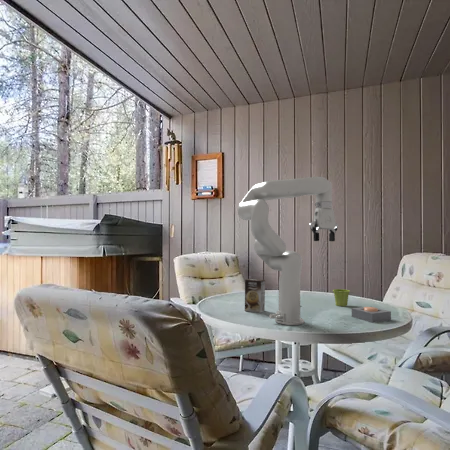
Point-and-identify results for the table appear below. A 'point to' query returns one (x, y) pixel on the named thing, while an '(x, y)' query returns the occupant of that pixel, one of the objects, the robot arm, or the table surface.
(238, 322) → the table surface
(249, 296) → the coffee box
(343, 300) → the plant pot
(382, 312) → the button box
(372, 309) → the push button
